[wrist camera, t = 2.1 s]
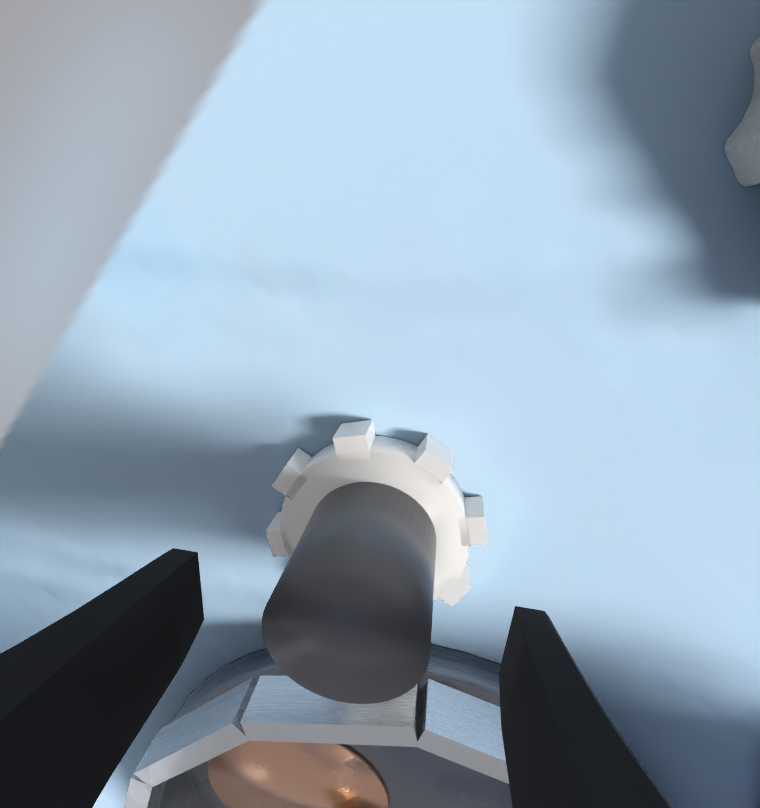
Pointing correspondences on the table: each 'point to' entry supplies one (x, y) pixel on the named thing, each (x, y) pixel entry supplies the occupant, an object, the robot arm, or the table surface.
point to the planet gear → (366, 562)
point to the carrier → (330, 743)
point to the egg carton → (747, 133)
